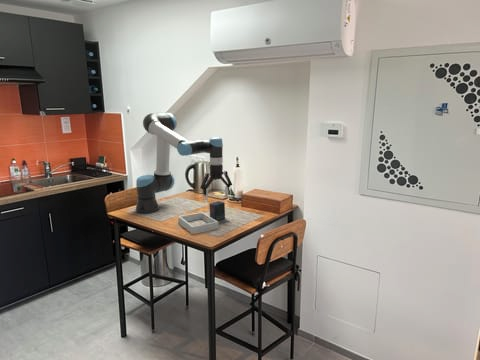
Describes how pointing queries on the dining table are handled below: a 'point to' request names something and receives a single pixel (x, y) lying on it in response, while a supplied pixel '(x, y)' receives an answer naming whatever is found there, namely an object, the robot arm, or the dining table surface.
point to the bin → (209, 226)
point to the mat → (223, 221)
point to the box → (217, 210)
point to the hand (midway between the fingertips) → (216, 198)
